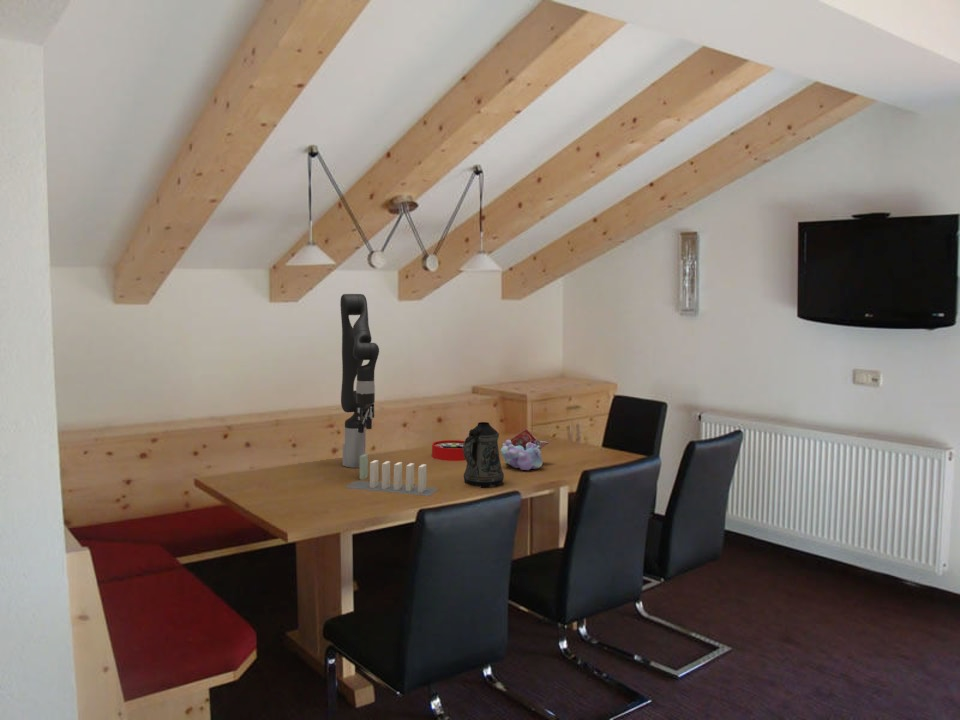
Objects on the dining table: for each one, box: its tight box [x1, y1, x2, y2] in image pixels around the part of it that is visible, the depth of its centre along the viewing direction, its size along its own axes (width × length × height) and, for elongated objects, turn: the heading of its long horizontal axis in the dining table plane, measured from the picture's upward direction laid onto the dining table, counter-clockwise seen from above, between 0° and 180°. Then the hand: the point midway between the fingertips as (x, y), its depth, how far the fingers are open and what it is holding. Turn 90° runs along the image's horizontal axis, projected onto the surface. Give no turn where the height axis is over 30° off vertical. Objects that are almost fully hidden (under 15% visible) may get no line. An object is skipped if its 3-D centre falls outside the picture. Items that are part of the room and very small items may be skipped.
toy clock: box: [431, 439, 466, 462], centre depth 383 cm, size 20×6×20 cm
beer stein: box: [463, 421, 505, 489], centre depth 332 cm, size 16×19×25 cm
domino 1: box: [359, 453, 369, 481], centre depth 335 cm, size 2×5×10 cm, turn 165°
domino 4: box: [393, 461, 403, 490], centre depth 319 cm, size 2×5×10 cm, turn 165°
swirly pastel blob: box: [499, 429, 550, 471], centre depth 365 cm, size 20×22×18 cm
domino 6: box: [417, 463, 427, 493], centre depth 317 cm, size 2×5×10 cm, turn 165°
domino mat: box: [344, 480, 439, 497], centre depth 321 cm, size 35×12×1 cm, turn 75°
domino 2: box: [369, 459, 380, 488], centre depth 322 cm, size 2×5×10 cm, turn 165°
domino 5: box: [405, 462, 415, 491], centre depth 318 cm, size 2×5×10 cm, turn 165°
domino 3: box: [381, 460, 391, 489], centre depth 321 cm, size 2×5×10 cm, turn 165°
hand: (364, 430), depth 333 cm, fingers open, 8 cm apart
